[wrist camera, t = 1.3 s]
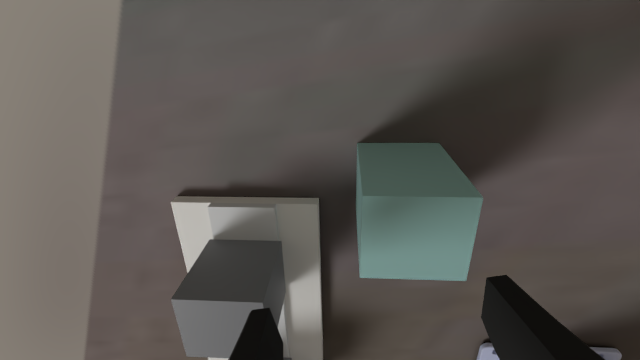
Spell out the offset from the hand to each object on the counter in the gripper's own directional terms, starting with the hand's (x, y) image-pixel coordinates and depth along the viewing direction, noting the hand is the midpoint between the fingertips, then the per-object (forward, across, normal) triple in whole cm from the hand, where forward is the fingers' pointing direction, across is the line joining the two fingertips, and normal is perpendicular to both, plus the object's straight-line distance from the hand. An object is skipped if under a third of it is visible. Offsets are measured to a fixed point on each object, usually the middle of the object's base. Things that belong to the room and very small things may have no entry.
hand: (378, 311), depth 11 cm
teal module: (+9, -3, +1) cm, 10 cm away
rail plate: (+9, +8, +10) cm, 16 cm away
